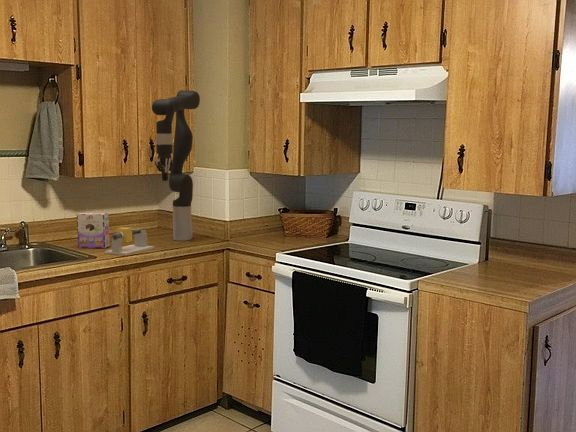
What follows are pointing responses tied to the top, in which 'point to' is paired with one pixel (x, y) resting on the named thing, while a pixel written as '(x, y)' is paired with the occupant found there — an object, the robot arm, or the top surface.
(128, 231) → the marker sleeve
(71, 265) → the top surface
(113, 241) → the stand
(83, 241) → the candy box
